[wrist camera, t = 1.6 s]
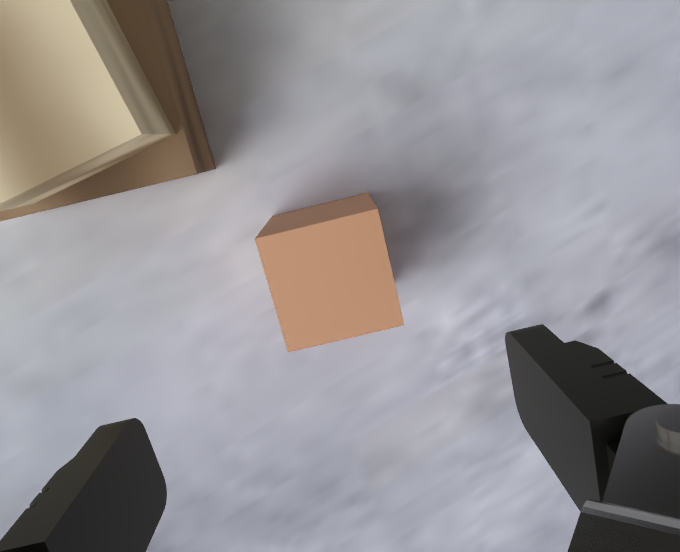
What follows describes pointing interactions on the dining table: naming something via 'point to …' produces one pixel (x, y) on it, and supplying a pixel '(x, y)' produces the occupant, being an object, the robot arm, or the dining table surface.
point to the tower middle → (68, 97)
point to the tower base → (174, 97)
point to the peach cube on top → (329, 272)
